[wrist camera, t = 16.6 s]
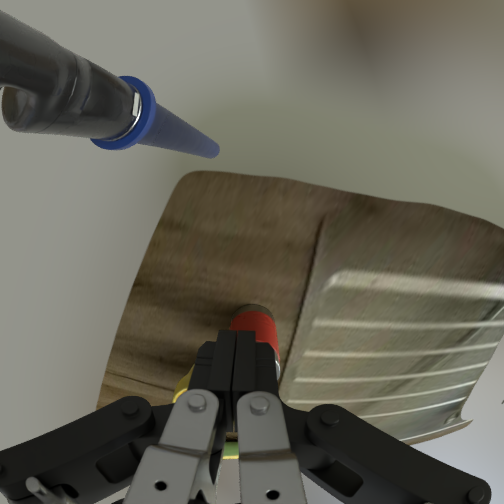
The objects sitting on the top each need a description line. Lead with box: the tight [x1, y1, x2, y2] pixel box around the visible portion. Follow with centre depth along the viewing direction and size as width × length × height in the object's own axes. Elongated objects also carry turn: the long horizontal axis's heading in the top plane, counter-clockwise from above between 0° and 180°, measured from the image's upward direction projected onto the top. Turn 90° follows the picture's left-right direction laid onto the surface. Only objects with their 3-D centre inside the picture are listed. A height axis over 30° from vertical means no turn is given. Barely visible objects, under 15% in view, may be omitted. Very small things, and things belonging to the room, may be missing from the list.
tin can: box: [229, 305, 280, 380], centre depth 36 cm, size 7×7×12 cm
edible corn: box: [223, 442, 239, 460], centre depth 49 cm, size 5×20×5 cm, turn 100°
